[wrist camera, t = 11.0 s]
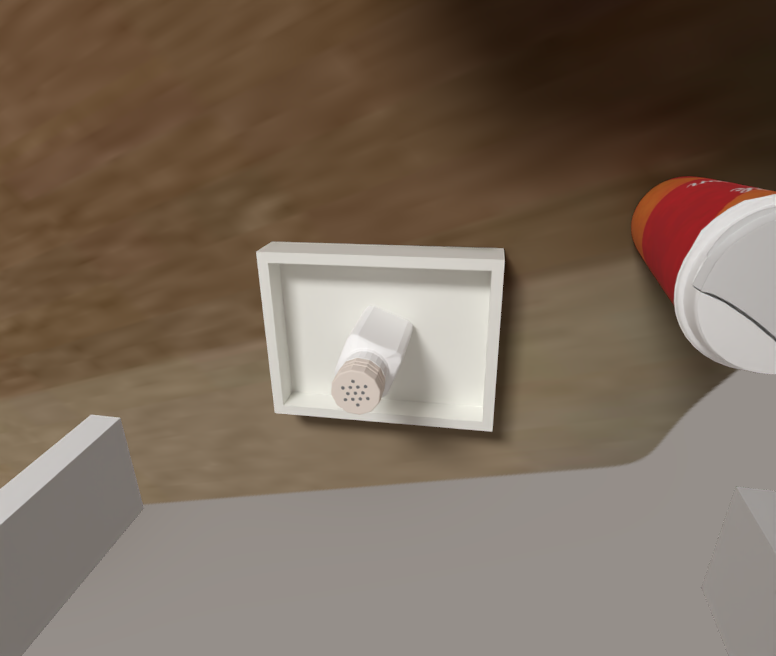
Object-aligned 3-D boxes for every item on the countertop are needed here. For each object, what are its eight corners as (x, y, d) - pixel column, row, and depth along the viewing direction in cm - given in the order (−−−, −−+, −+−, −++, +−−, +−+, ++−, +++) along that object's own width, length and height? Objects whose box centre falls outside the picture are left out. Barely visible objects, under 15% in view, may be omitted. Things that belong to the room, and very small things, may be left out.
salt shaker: (351, 343, 42) (316, 405, 34) (368, 300, 41) (335, 354, 32) (397, 362, 42) (374, 430, 34) (416, 320, 41) (396, 380, 32)
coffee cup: (771, 233, 35) (950, 319, 21) (652, 302, 38) (742, 416, 24) (706, 127, 33) (856, 147, 19) (587, 208, 36) (645, 274, 23)
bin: (271, 241, 41) (256, 251, 38) (503, 248, 38) (504, 259, 35) (287, 394, 46) (274, 413, 44) (492, 410, 44) (492, 431, 41)
